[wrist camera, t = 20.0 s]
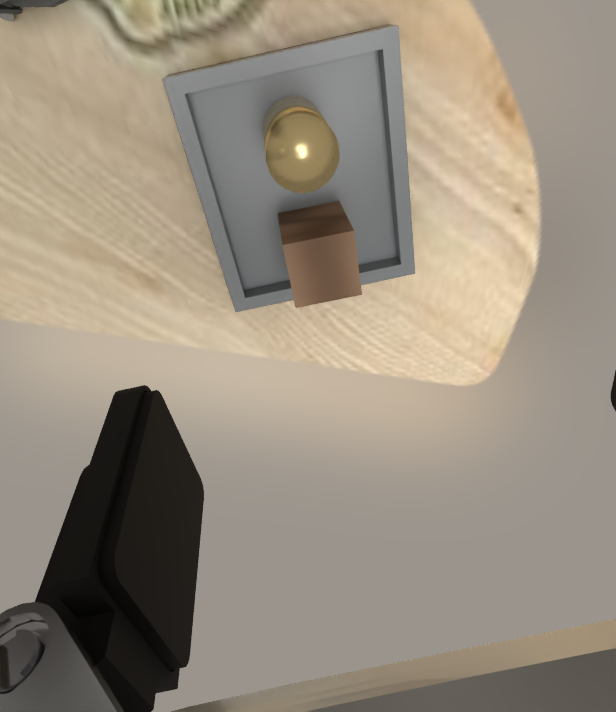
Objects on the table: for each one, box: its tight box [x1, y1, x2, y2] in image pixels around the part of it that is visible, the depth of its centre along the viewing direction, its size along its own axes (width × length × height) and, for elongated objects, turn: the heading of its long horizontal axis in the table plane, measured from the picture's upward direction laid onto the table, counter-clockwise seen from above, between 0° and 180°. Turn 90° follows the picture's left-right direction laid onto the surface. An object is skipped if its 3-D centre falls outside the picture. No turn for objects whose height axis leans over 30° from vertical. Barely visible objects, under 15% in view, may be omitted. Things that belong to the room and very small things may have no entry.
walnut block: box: [278, 201, 362, 308], centre depth 34 cm, size 4×4×6 cm
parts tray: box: [163, 25, 415, 312], centre depth 34 cm, size 14×16×2 cm
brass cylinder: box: [263, 96, 340, 193], centre depth 30 cm, size 4×4×7 cm
